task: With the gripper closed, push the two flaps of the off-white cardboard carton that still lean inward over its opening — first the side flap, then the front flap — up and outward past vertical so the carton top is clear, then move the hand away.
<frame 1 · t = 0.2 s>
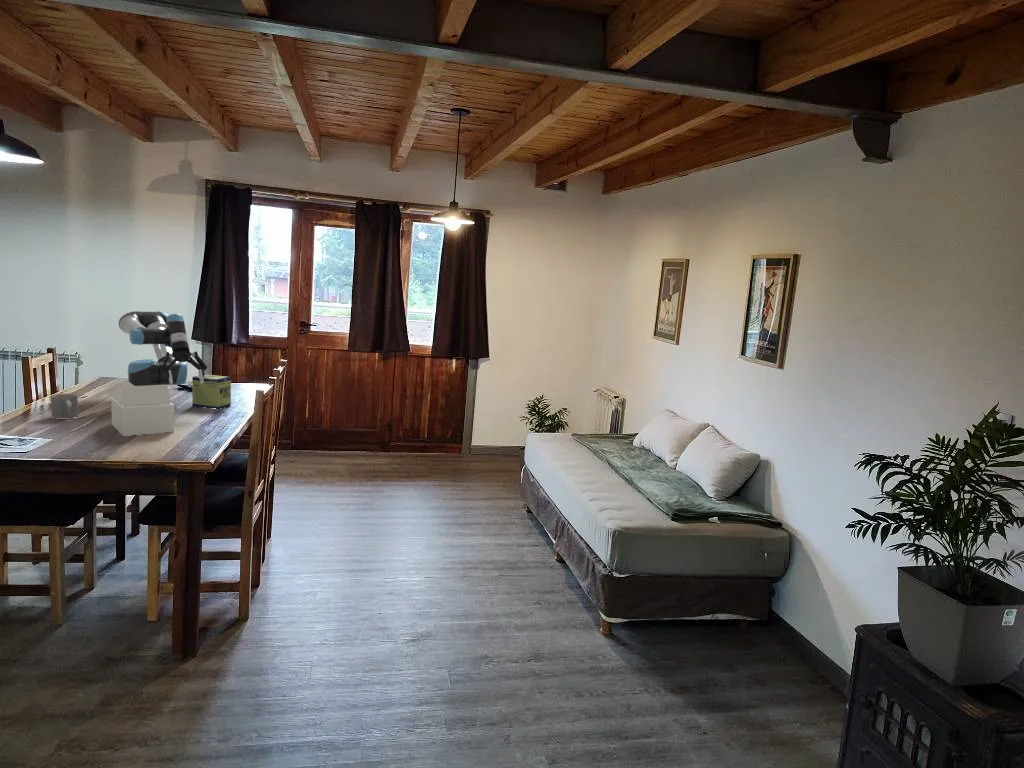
hand: (187, 383, 322), 16 cm above the table, tool tilted 35°, fingers open, 13 cm apart
protein box: (211, 406, 350), on the table
carton: (142, 428, 296), on the table
front flap: (146, 394, 287), point 16 cm above the table, hinge at -42.0°
coffee mug: (65, 418, 306), on the table
side flap: (123, 391, 291), point 16 cm above the table, hinge at -42.0°
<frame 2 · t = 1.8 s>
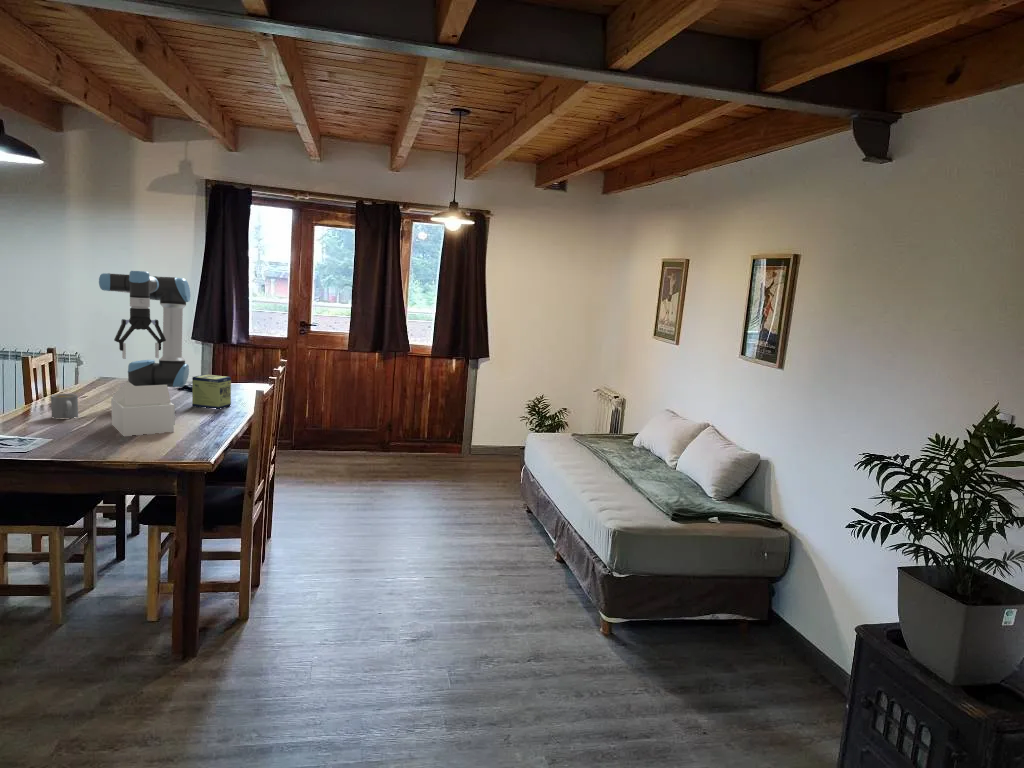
hand: (140, 358, 293), 31 cm above the table, tool pointing down, fingers open, 12 cm apart
nothing on the table moved.
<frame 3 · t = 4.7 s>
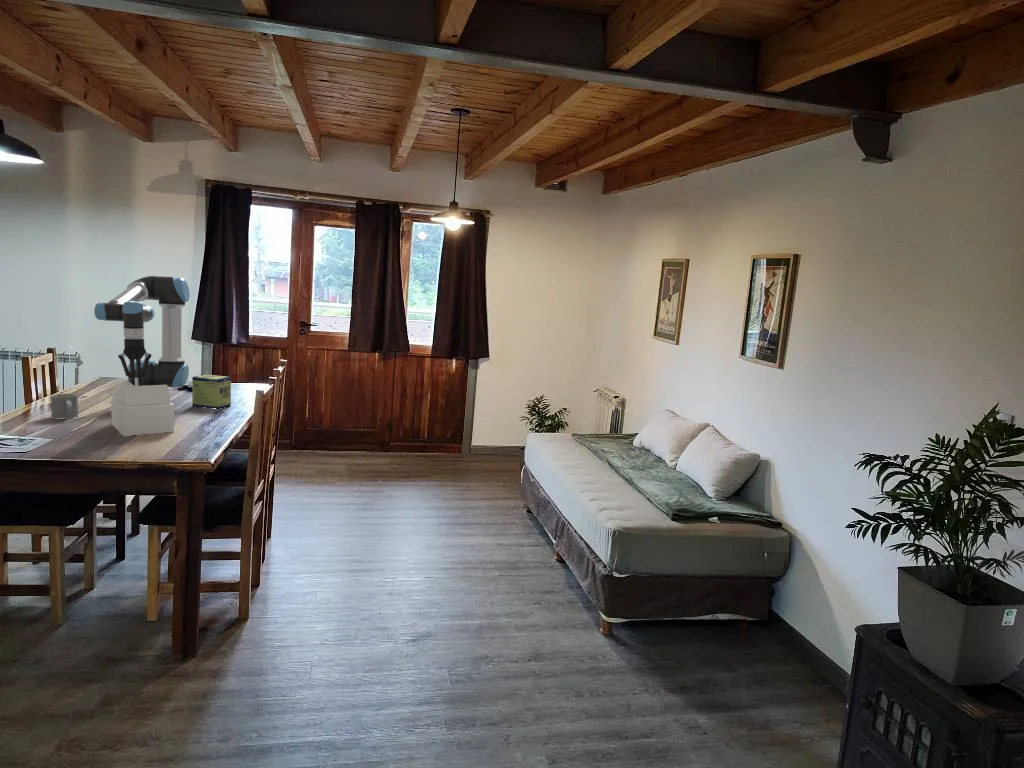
hand: (136, 392, 294), 16 cm above the table, tool pointing down, fingers closed
side flap: (123, 391, 290), point 16 cm above the table, hinge at -40.7°, touching gripper
everything else where it was.
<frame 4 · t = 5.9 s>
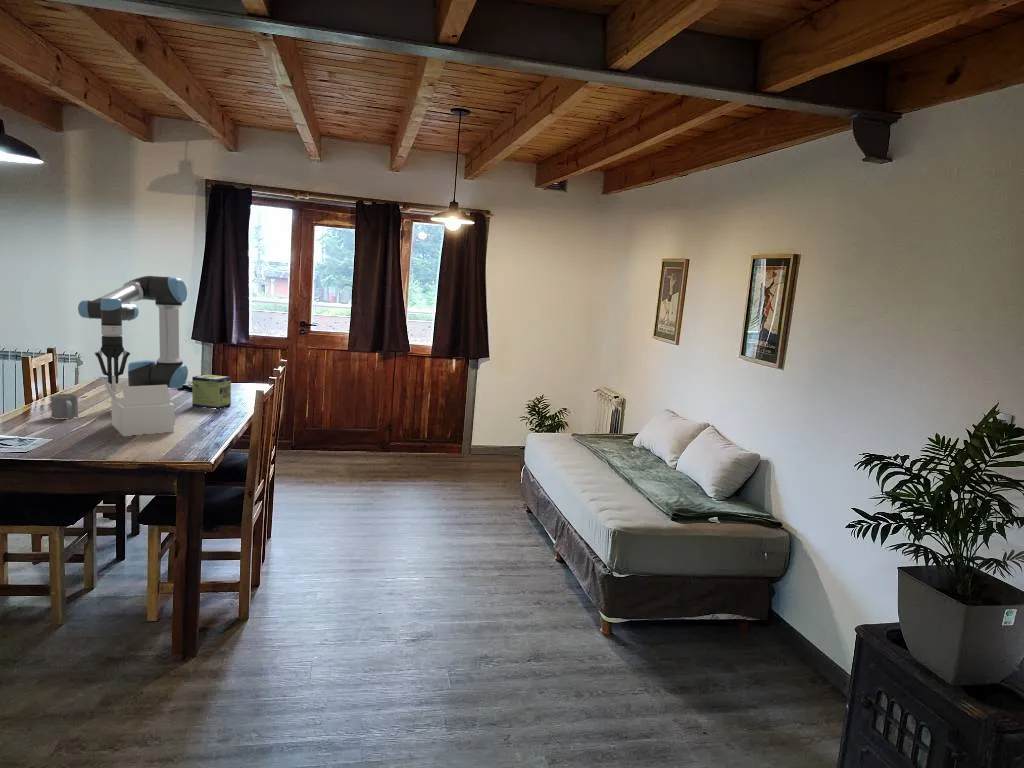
hand: (113, 391, 287), 17 cm above the table, tool pointing down, fingers closed
side flap: (110, 390, 287), point 17 cm above the table, hinge at 21.2°, touching gripper
everything else where it was.
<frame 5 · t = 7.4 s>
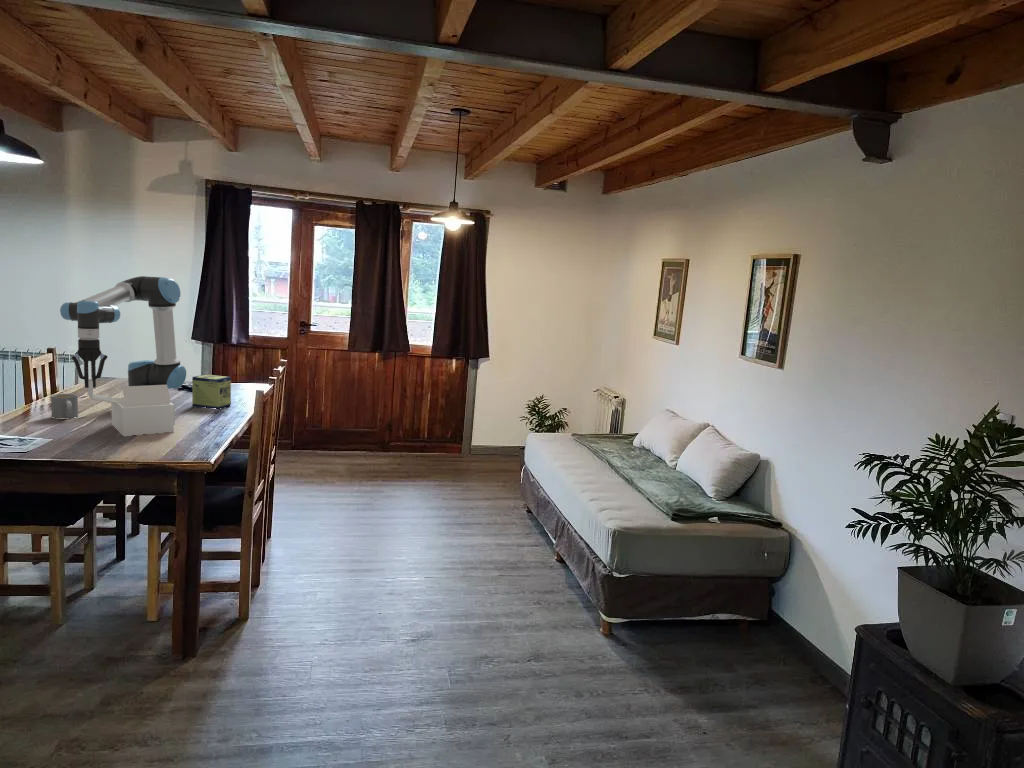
hand: (90, 395, 283), 15 cm above the table, tool pointing down, fingers closed
side flap: (102, 398, 286), point 14 cm above the table, hinge at 76.3°, touching gripper
everything else where it was.
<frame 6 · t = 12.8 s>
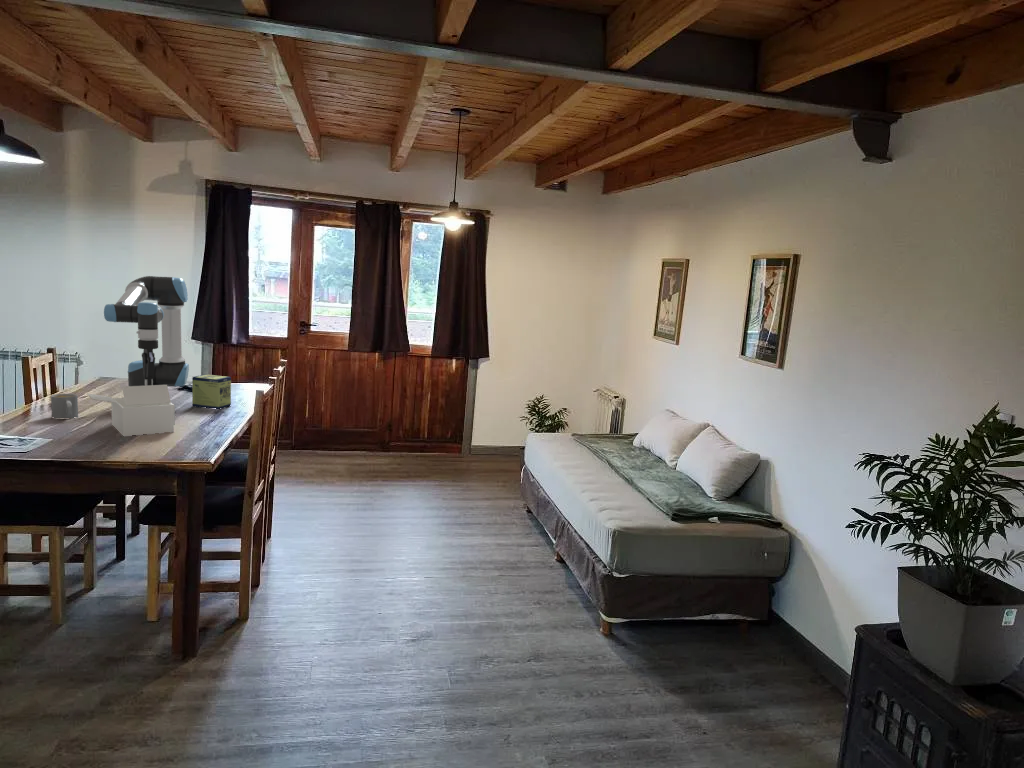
hand: (148, 394, 292), 16 cm above the table, tool pointing down, fingers closed
front flap: (146, 394, 287), point 16 cm above the table, hinge at -42.0°, touching gripper
side flap: (102, 398, 286), point 14 cm above the table, hinge at 76.5°
everything else where it was.
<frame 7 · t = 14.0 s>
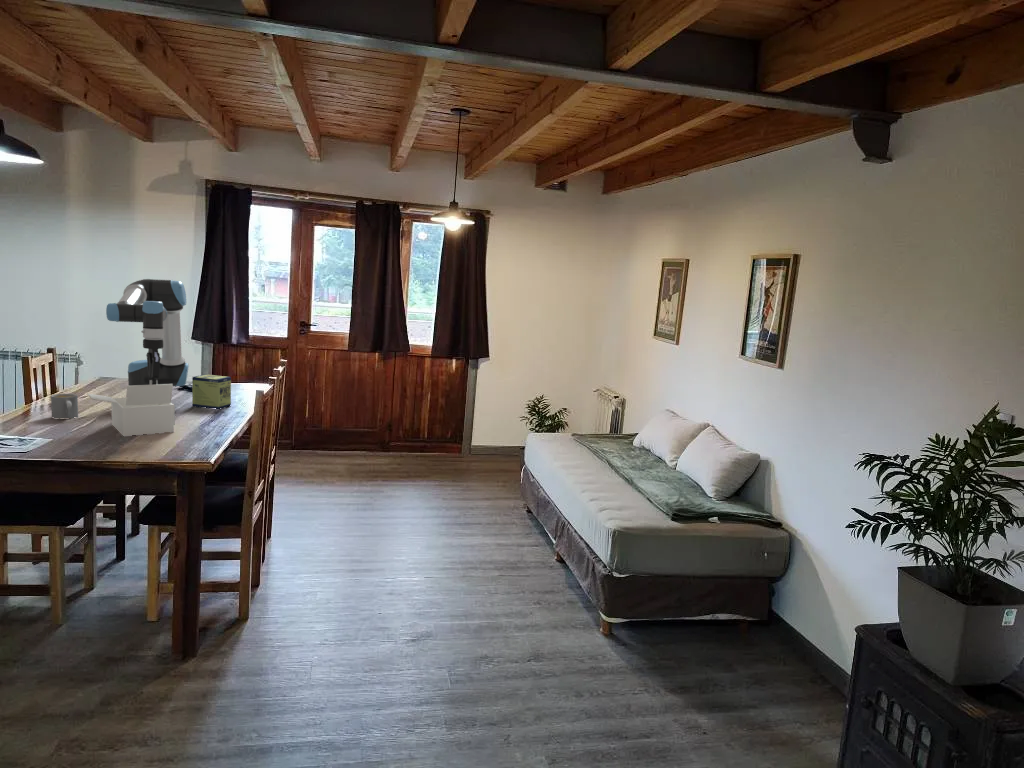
hand: (153, 395, 285), 17 cm above the table, tool pointing down, fingers closed
front flap: (149, 394, 283), point 17 cm above the table, hinge at 19.4°, touching gripper
everything else where it was.
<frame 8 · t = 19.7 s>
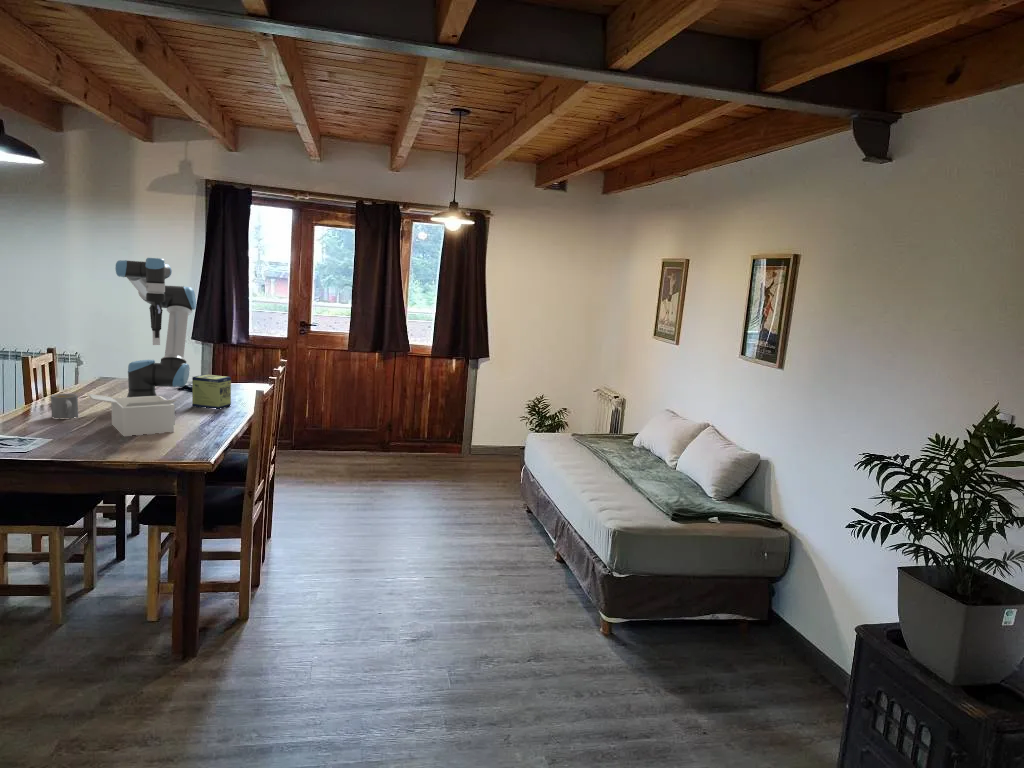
hand: (156, 344, 311), 34 cm above the table, tool pointing down, fingers closed
front flap: (151, 402, 281), point 14 cm above the table, hinge at 71.7°
everything else where it was.
at the end: side flap at +76° (first picture: -42°); front flap at +72° (first picture: -42°) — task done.
